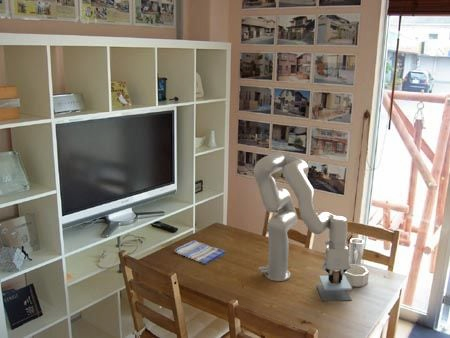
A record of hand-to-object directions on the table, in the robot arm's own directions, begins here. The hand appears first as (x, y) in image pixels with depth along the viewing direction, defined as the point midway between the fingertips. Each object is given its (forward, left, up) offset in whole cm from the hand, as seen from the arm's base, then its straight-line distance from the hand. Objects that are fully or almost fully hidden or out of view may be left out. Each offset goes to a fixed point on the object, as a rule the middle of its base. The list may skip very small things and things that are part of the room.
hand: (335, 281), depth 210 cm
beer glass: (+16, +24, -6) cm, 30 cm away
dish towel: (-63, +42, -7) cm, 76 cm away
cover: (0, 0, -1) cm, 1 cm away
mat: (0, 0, -6) cm, 6 cm away
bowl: (+12, +11, -6) cm, 18 cm away
